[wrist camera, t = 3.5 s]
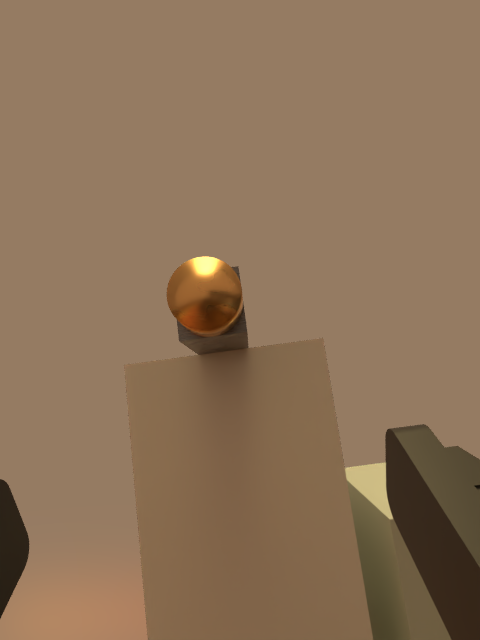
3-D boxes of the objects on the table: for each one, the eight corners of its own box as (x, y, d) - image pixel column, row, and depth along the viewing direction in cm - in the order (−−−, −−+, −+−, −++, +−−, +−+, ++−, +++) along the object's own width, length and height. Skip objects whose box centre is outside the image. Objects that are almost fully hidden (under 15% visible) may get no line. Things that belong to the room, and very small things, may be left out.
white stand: (354, 738, 36) (296, 358, 42) (433, 1004, 20) (323, 338, 26) (212, 756, 36) (172, 375, 42) (182, 1036, 21) (124, 364, 26)
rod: (249, 364, 41) (245, 332, 41) (246, 325, 17) (236, 252, 17) (218, 368, 41) (214, 337, 41) (170, 335, 17) (162, 262, 17)
